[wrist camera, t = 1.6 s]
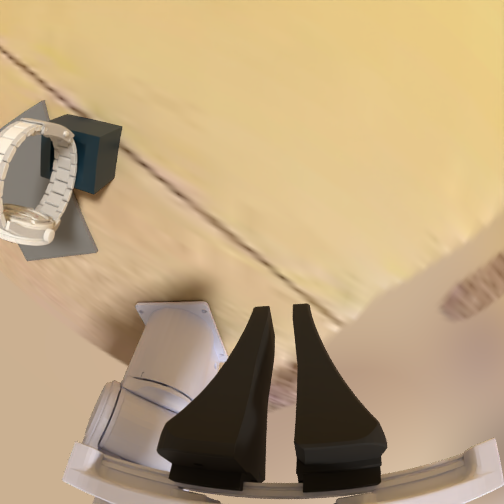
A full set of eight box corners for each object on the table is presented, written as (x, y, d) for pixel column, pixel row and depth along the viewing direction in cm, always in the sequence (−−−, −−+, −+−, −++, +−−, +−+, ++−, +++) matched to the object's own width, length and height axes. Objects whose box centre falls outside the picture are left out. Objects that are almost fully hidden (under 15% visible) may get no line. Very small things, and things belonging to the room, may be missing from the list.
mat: (98, 250, 25) (96, 252, 25) (28, 259, 27) (27, 261, 27) (44, 100, 17) (41, 101, 17) (-19, 144, 19) (-21, 145, 19)
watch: (62, 182, 21) (-24, 254, 12) (70, 93, 17) (-42, 135, 8) (112, 199, 22) (31, 286, 13) (127, 104, 18) (14, 151, 9)
